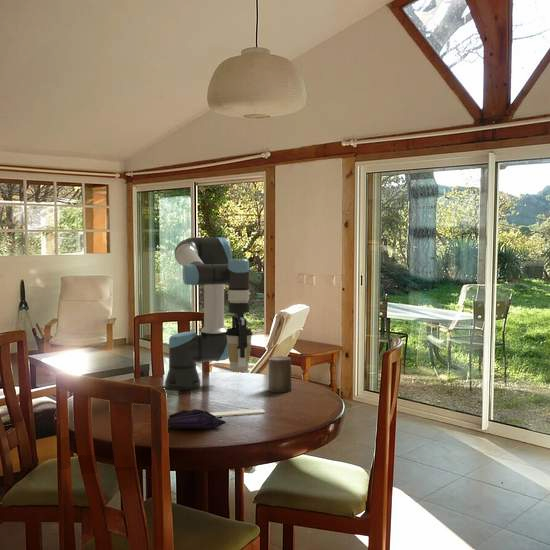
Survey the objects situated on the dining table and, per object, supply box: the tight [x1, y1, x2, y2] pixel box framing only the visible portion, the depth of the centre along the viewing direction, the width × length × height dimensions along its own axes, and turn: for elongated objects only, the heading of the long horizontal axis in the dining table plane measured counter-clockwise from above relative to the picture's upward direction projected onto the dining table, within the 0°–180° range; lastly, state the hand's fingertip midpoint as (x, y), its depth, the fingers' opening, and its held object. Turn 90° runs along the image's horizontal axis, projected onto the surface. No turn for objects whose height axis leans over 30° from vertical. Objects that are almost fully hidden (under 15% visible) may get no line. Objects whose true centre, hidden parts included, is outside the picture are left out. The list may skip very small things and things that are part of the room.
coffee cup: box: [225, 327, 254, 373], centre depth 222 cm, size 10×10×15 cm
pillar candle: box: [268, 355, 292, 393], centre depth 261 cm, size 10×10×15 cm
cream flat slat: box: [210, 408, 266, 418], centre depth 223 cm, size 4×24×1 cm, turn 105°
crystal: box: [167, 408, 226, 430], centre depth 207 cm, size 7×12×20 cm
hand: (239, 364), depth 222 cm, fingers closed on coffee cup, 9 cm apart
